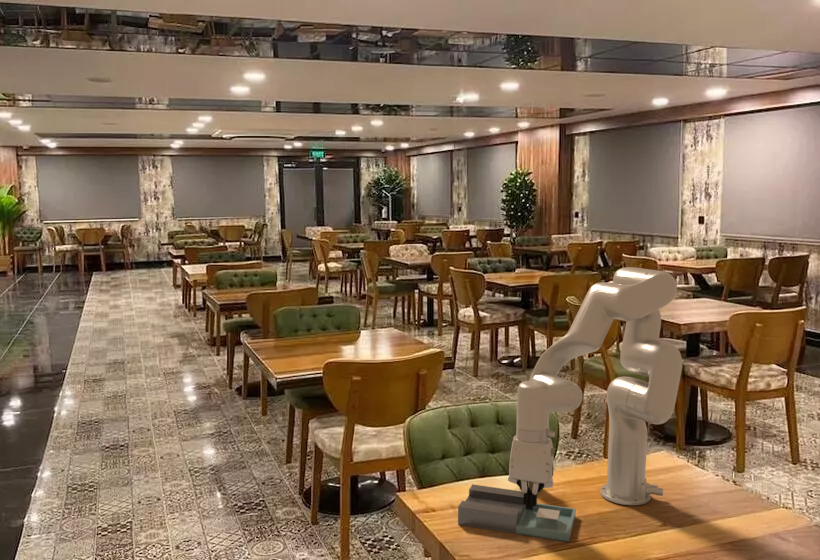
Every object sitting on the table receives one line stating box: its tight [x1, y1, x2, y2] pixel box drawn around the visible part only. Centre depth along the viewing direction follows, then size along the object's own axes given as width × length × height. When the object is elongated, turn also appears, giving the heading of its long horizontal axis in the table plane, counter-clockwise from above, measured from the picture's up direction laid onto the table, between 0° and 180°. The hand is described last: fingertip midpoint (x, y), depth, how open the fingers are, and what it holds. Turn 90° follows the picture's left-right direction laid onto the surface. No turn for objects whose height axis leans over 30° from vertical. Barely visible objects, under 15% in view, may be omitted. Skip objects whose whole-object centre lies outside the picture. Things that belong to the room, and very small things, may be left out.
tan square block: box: [536, 508, 560, 530], centre depth 173 cm, size 5×5×2 cm
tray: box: [515, 502, 577, 543], centre depth 173 cm, size 12×14×2 cm
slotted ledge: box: [457, 484, 526, 535], centre depth 177 cm, size 14×14×4 cm
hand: (529, 507), depth 174 cm, fingers closed
